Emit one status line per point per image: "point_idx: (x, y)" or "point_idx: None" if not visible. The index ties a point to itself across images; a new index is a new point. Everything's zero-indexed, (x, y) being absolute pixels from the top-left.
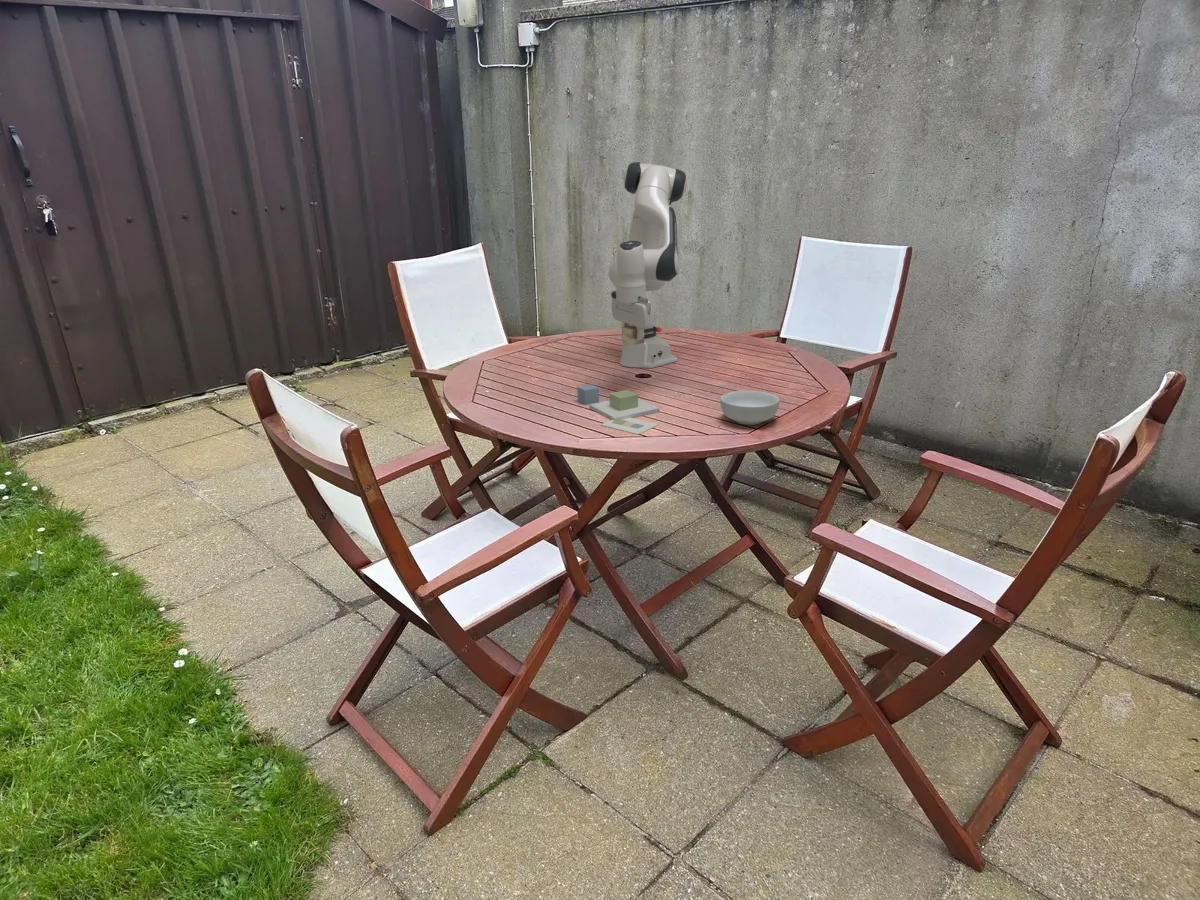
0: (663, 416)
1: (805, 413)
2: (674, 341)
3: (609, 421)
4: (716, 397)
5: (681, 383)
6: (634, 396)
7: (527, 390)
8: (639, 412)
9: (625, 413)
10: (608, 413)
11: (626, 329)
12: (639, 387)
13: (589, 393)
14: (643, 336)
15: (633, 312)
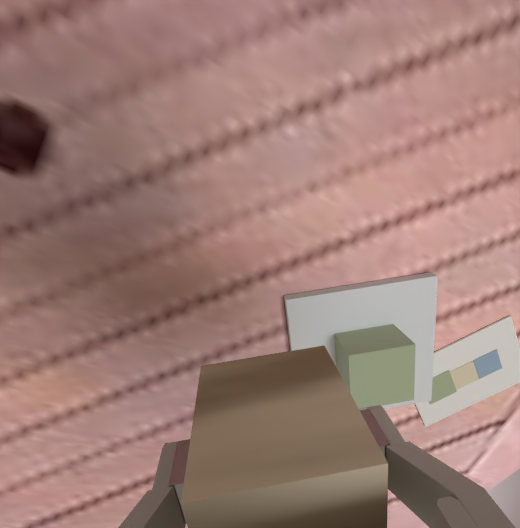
0: (466, 277)
1: None
2: None
3: (419, 405)
4: (424, 13)
5: (189, 38)
6: (413, 353)
7: (70, 508)
8: (433, 337)
9: (417, 369)
10: (392, 404)
11: None
12: (171, 223)
13: None
14: (343, 386)
15: None
